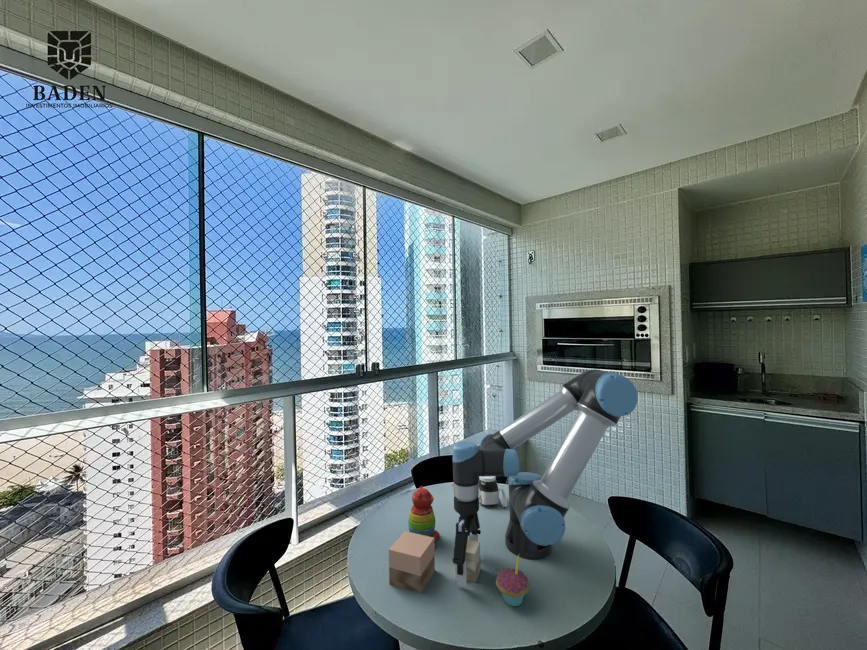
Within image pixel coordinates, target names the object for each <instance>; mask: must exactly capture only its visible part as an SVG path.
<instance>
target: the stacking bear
mask: <svg viewBox="0 0 867 650" xmlns="http://www.w3.org/2000/svg"><path fill="white" fill-rule="evenodd" d="M411 501H412V506H411V508H410V511H409V514H408V520H407V521H408V523H407V525H408V530H409V531H408V532H411V533H415V534H420V535H424V536H429V537H433V538H434V545H435V549H436V548H437V544H436V541H437V540H438V539H440V532H439V531H438V530H436V515H435V512H434V509H433V506H432V504H433V502H434V496H433V495H432V493H431V492H430V491H429V489H427V488H424V487H423V486H422V485H421V486H419V488H418V489H415V491H414V492H412V496H411Z"/></svg>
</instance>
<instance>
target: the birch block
mask: <svg viewBox="0 0 867 650" xmlns="http://www.w3.org/2000/svg"><path fill="white" fill-rule="evenodd" d="M465 561H466V576H467V581H469V582H472V583H477V580H478V578H477V577H479V575H480V572H481V570H482V568H481V567H482V566H481V565H482V562H481V542H480V541H478V542H477V541H472V540H469V539H468V540H467V548H466V555H465ZM454 565H455V568H454V569H455V572H456V564H454ZM480 569H481V570H480Z"/></svg>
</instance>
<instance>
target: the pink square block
mask: <svg viewBox="0 0 867 650" xmlns="http://www.w3.org/2000/svg"><path fill="white" fill-rule="evenodd" d="M435 550H436V548H435V545H434V538H433V537H429V536H424V535H420V534H415V533H411V532H410V531H406V530H405V531H403V533H402V534H401V535H400V536H399V538H397V540H395V542H393V544H392V545H391V546H390V547H389V549H388V569H389V568H393V569H397V570H400V571H404V572H408V573H411V574H415V575H418V576H421V575H422V573H423V572H424V570H425V569H426V567H427V566H428V564H429V563H430V561H431V560H432V558H433V556H434V555H436V553H435V552H436V551H435Z"/></svg>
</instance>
